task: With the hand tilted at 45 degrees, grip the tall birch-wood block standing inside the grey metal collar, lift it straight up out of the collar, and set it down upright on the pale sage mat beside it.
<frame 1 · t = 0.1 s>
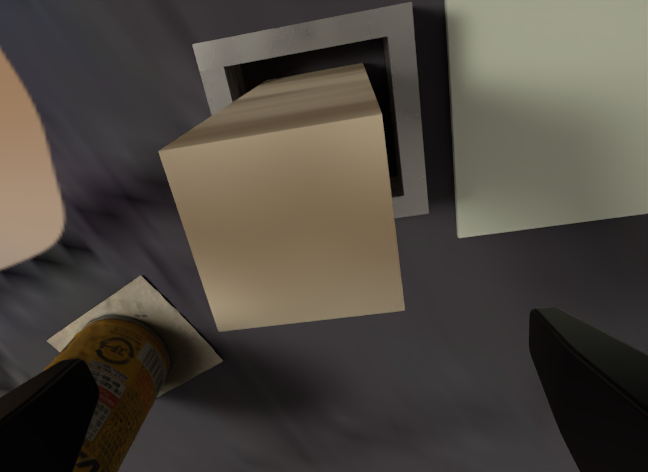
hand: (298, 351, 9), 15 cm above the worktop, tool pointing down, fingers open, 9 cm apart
condiment: (137, 346, 28), on the worktop
block: (312, 156, 15), in the collar
collar: (322, 120, 21), on the worktop
mat: (584, 99, 20), on the worktop
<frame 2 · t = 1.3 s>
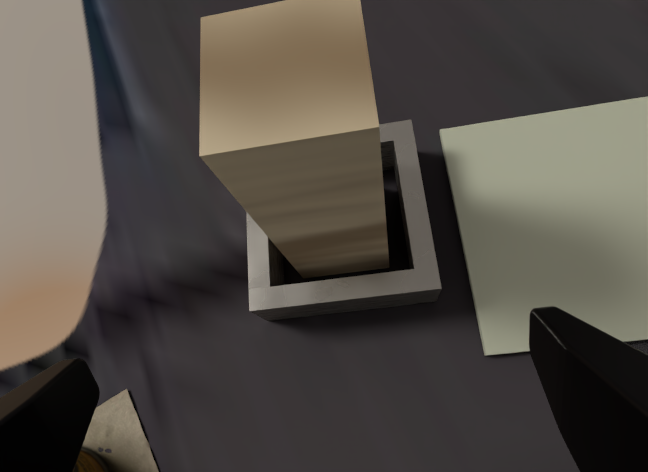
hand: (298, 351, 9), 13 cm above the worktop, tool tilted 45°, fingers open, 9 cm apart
block: (322, 178, 18), in the collar
collar: (341, 232, 24), on the worktop
mat: (584, 218, 22), on the worktop
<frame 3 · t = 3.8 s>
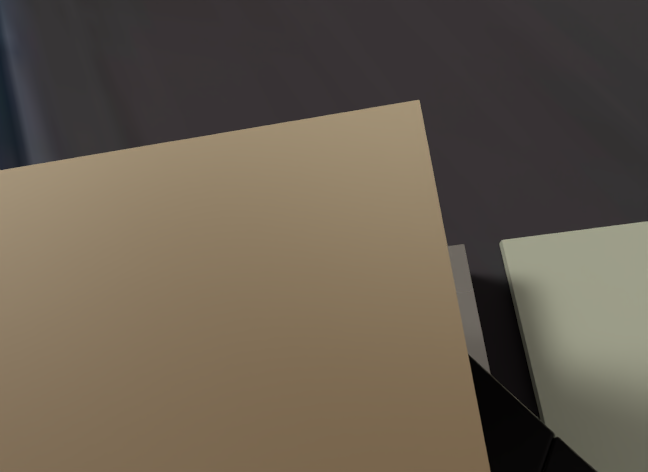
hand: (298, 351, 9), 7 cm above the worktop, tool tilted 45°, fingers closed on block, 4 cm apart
block: (304, 427, 8), in the collar, touching gripper
collar: (343, 412, 15), on the worktop
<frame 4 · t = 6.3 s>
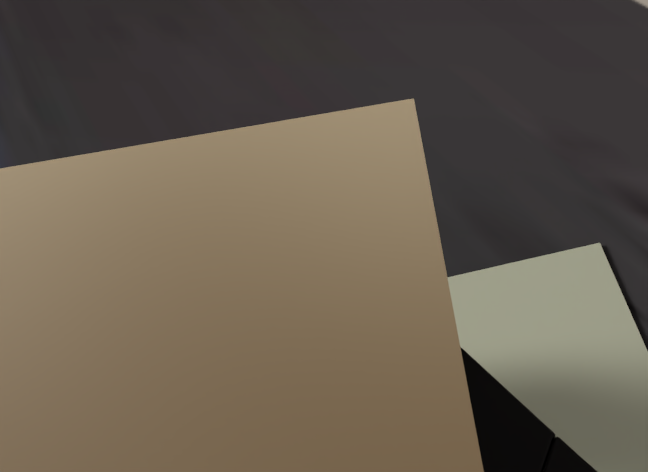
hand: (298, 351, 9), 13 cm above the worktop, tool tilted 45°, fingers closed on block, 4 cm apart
block: (302, 426, 8), point 13 cm above the worktop, touching gripper
mat: (514, 399, 20), on the worktop
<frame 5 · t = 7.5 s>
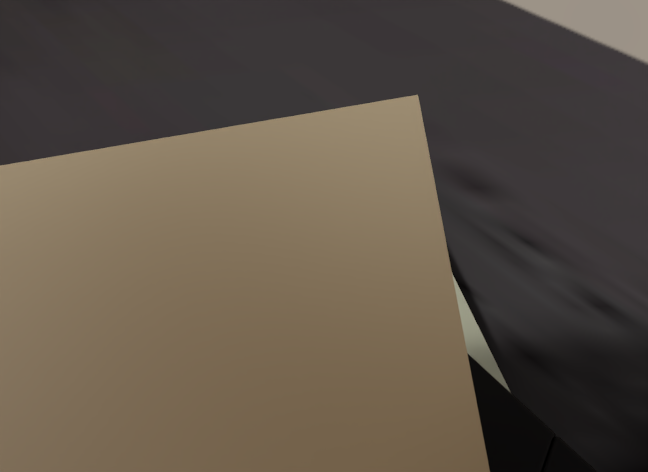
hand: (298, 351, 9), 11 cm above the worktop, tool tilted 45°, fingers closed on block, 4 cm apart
block: (303, 425, 8), point 11 cm above the worktop, touching gripper
mat: (356, 403, 19), on the worktop
when the fingers open (8 cm above the worktop, at t = 8.5 s): block drops 1 cm, resting on mat.
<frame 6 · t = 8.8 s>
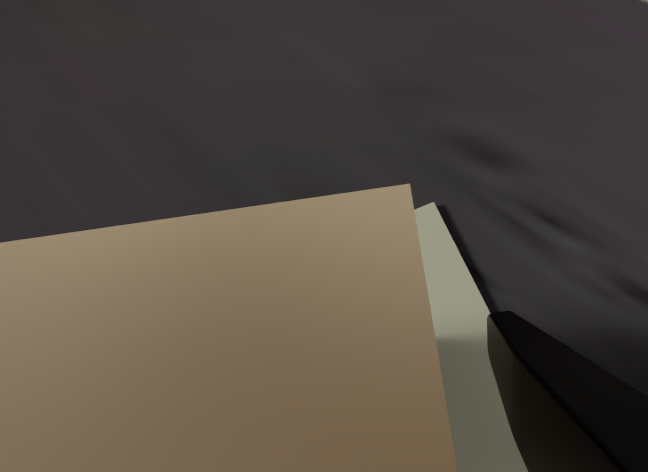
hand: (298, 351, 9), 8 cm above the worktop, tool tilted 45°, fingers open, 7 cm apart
block: (312, 424, 10), on the mat
mat: (348, 409, 16), on the worktop
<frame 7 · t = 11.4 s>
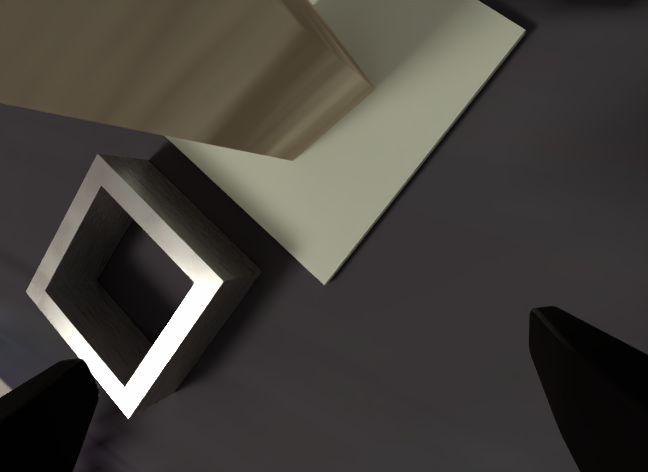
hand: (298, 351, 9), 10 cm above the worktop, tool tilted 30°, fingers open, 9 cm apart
block: (204, 28, 13), on the mat
collar: (161, 277, 23), on the worktop
mat: (307, 86, 19), on the worktop
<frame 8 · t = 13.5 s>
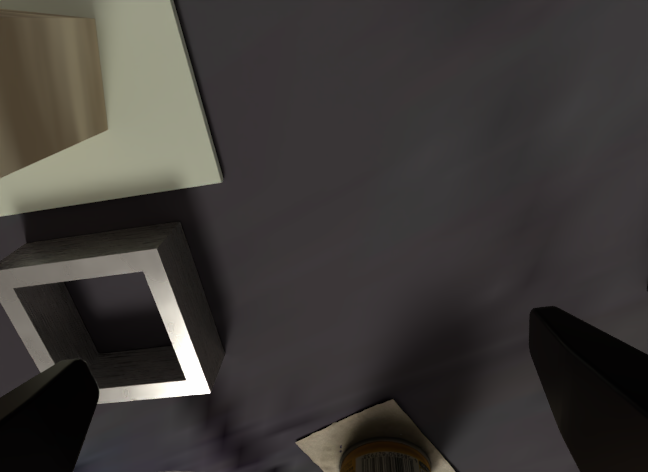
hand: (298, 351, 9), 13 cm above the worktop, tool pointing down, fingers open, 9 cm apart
condiment: (378, 455, 29), on the worktop
collar: (130, 301, 24), on the worktop
mat: (54, 69, 19), on the worktop
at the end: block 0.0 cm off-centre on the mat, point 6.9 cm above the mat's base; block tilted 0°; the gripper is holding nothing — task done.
